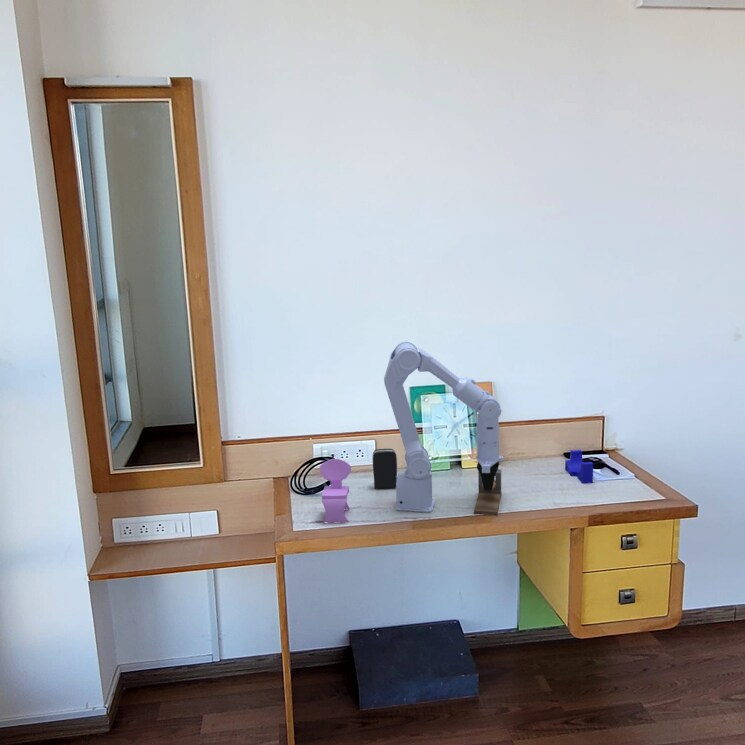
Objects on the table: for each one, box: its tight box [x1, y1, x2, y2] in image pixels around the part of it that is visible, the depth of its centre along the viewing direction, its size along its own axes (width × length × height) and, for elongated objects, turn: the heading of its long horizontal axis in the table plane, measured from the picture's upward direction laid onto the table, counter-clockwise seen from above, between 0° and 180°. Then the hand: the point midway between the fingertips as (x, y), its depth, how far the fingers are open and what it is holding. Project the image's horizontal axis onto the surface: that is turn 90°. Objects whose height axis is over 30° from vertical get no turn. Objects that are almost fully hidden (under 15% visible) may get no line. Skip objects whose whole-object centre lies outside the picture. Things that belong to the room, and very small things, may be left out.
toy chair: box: [318, 458, 352, 523], centre depth 182 cm, size 8×9×15 cm
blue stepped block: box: [564, 449, 594, 484], centre depth 204 cm, size 12×4×6 cm, turn 1°
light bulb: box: [482, 477, 496, 492], centre depth 193 cm, size 10×4×4 cm, turn 166°
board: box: [473, 492, 502, 516], centre depth 188 cm, size 15×6×1 cm, turn 166°
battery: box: [372, 448, 398, 490], centre depth 201 cm, size 7×4×11 cm, turn 93°
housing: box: [477, 468, 502, 495], centre depth 193 cm, size 3×6×6 cm, turn 76°
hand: (488, 489), depth 187 cm, fingers closed
